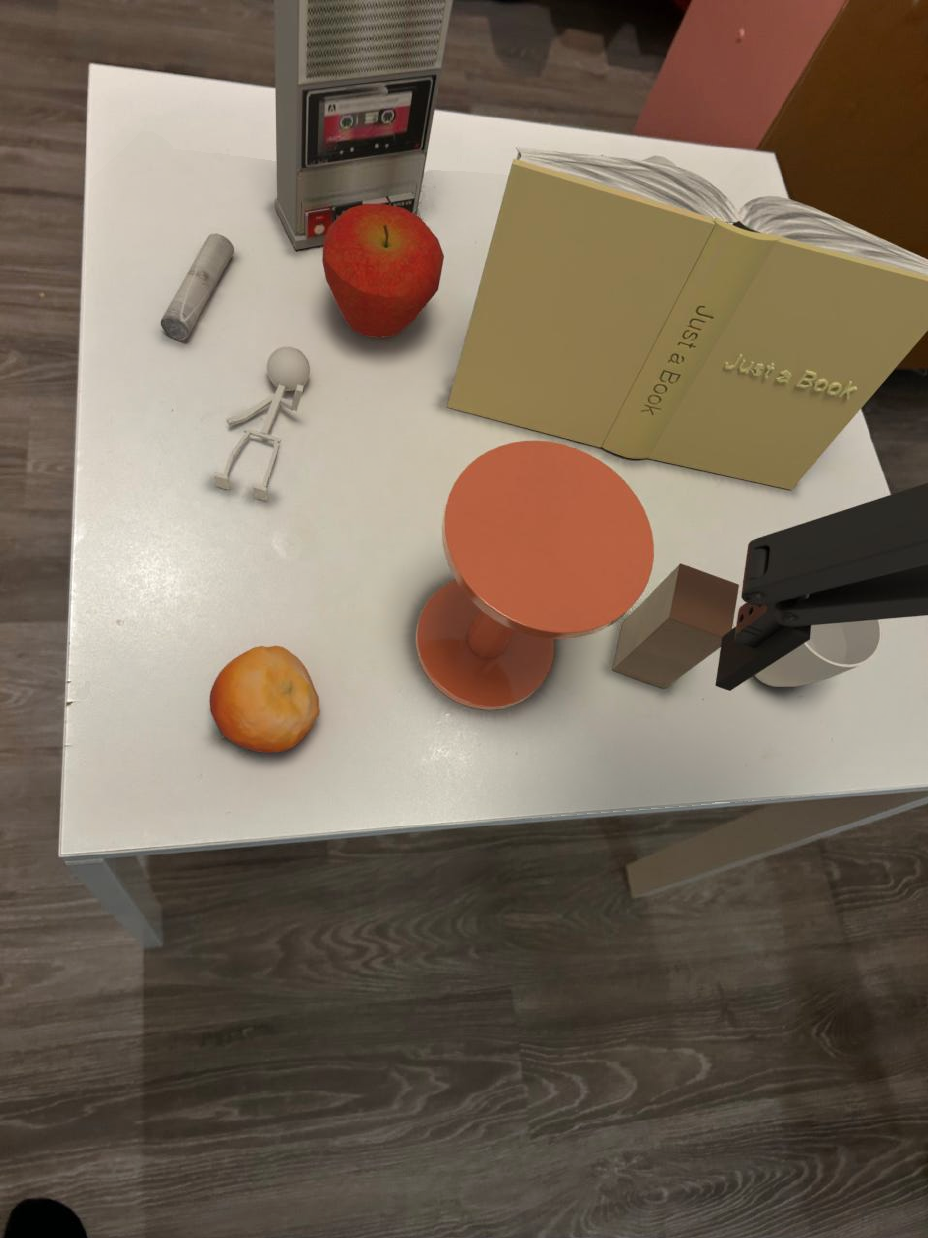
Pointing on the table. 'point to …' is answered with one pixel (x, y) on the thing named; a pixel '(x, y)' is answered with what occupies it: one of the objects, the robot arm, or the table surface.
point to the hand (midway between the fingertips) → (853, 709)
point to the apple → (381, 267)
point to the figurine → (271, 408)
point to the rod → (197, 286)
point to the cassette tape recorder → (353, 106)
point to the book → (681, 317)
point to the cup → (825, 654)
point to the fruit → (264, 700)
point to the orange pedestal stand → (529, 569)
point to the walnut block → (676, 626)
